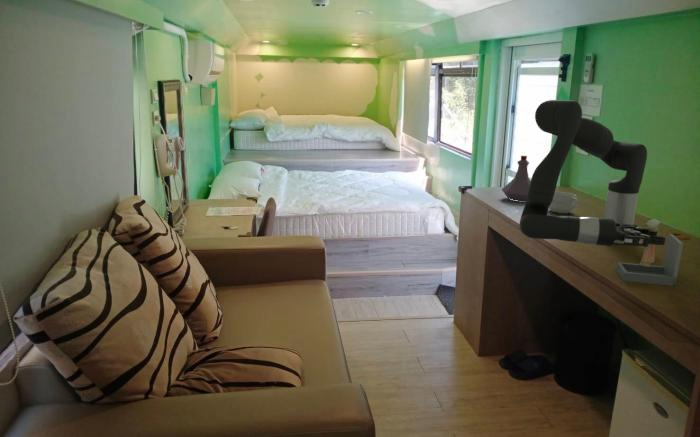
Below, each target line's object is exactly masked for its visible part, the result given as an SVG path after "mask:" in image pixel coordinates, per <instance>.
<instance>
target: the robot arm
mask: <svg viewBox="0 0 700 437" xmlns="http://www.w3.org/2000/svg"><path fill="white" fill-rule="evenodd" d="M534 118H535V119H534V120H535V123H536V125H537V126H538V128H539V130H541V131H543V132H545V133H548V134H551V135H554V136H556V139H555V142H554V143H553V146H552V148H551V149H550V150H549V152H548V154H547V155H546V156H545V157H544V158H543V159H542V160H541V162H540V163H539V164H538V165H537V166H536V168H535V170H534V171H533V174H532V175H531V176H532V177H531V179H530V181H531V182H530V186H529V190H528V195H527V201H526V202H525V203H524V206H523V210H522V213H521V215H520V219H519V229H520V232H521V233H522V234H523V235H524V236H526V237H527V238H531V239H538V240H539V239H541V240H559V241H563V242H564V241H565V242H573V243H575V242H576V243H581V244H586V245H594V246H595V245H596V246H605V247H612V246H613V245H614V244H622V245H624V246H633V247H634V246H635V247H643V248H644V247H647V246H648V244H654V245H655V246H664V245H665V243H666V238H665V236H660V235H659V236H658V231H657V232H655V236H651V235H650V236H649V235H647V233H648V231H649V230H648V228H642V227H641V226H638V225H637V224H635V223H634V222H635V216H636V211H637V206H638V205H637V204H638V199H639V198H638V197H639V192H640V188H641V185H642V183H643V177H644V172H645V168H646V164H647V159H648V150H647V147H646V146H645V145H644V144H641V143H634V142H627V141H626V142H625V141H618V140H614V134H613V132H612V131H611V129H609V128H608V127H607V126H605V125H604V124H602V123H600V122H598V121H596V120H593V119H589V118H586V117H583V109H582V105H581V104H580V103H579V102H578V101H576V100H573V99H571V100H569V99H549V100H546V101H543V102H541V103H540V104H539V105H538V106H537V108H536V110H535V114H534ZM572 145H573V146H575V147H577V148H578V149H579V150H581V151H583V152H585V153H587V154H588V155H591V156H594V157H595V158H598V159H599V160H601V161H602V162H603V163H605V165H607V166H608V167H609V168H611V169H613V170H614V169H615V170H617V171H624V172H626V173H625V176H624V177H621V178H619V179H612V180H610V181H609V183H608V187H607V194H606V202H605V206H604V207H605V209H604V214H603V217H591V216H579V217H578V216H571V215H570V216H568V215H564V216H563V215H559V216H557V215H549V214H548V212H549V206H550V205H551V203H552V200H553V196H554V193H555V192H556V189H557V185H558V180H559V178H560V174H561V171H562V169H563V166H564V163H565V161H566V160H567V157H568V155H569V153H570V150H571V148H572ZM642 240H643V241H642Z"/></svg>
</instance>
